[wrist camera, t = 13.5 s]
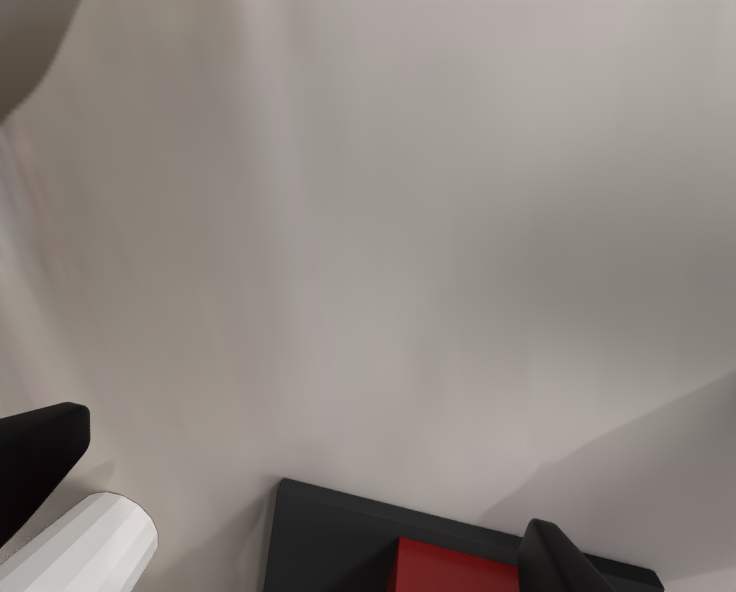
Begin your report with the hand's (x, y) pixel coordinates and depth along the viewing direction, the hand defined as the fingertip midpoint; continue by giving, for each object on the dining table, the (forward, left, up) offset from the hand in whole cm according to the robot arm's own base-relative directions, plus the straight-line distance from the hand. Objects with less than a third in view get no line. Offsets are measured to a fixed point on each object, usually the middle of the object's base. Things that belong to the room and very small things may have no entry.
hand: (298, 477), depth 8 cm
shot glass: (+13, +18, -12) cm, 25 cm away
